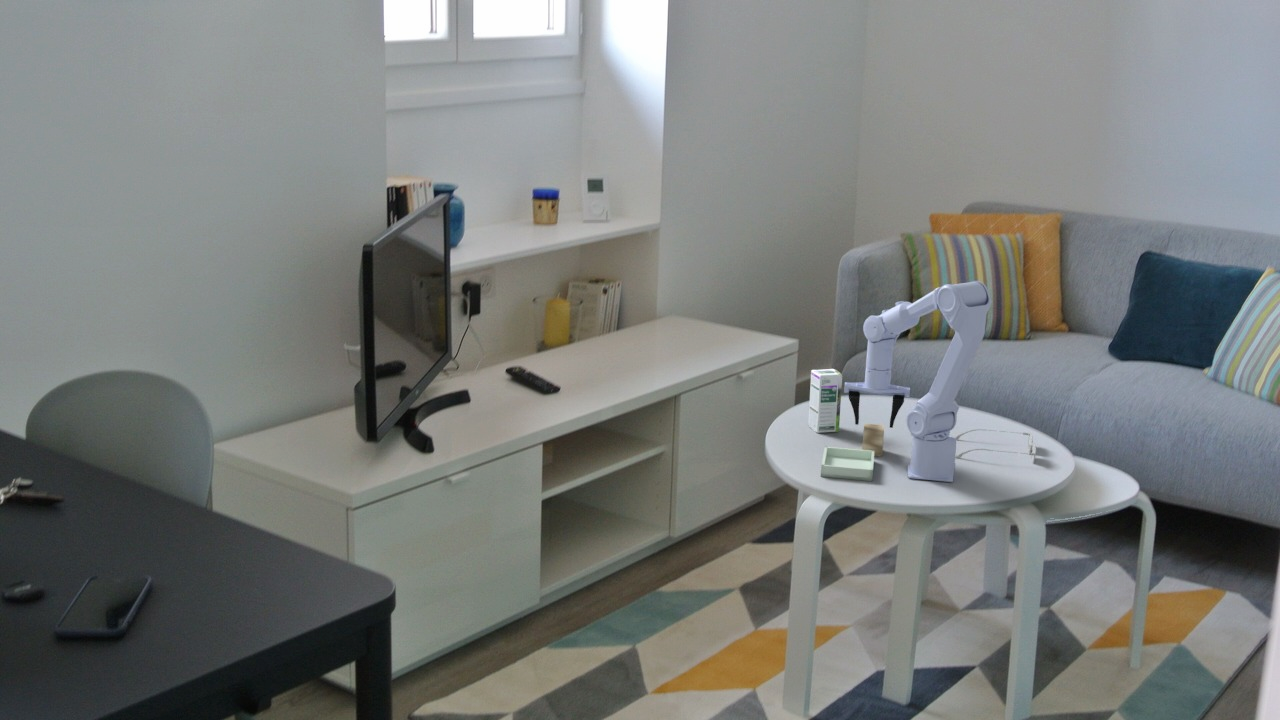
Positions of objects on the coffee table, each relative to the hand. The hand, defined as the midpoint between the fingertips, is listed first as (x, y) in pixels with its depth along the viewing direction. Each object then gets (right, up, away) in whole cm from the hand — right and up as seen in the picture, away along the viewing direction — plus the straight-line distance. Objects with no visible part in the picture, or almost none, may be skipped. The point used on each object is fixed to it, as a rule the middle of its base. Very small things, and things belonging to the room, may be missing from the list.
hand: (874, 424), depth 287 cm
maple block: (0, -6, +2) cm, 7 cm away
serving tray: (-8, -9, -10) cm, 15 cm away
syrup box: (-9, -2, +17) cm, 20 cm away
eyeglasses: (+28, -7, +4) cm, 29 cm away
